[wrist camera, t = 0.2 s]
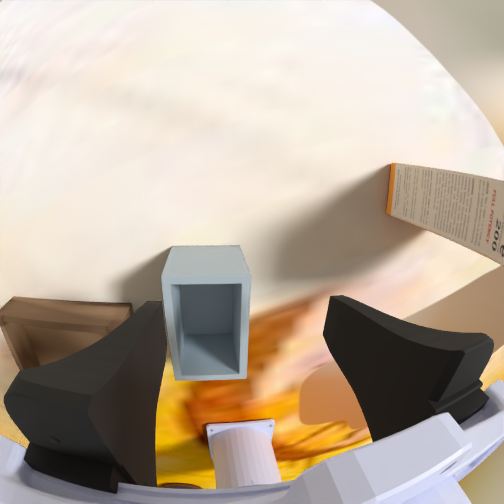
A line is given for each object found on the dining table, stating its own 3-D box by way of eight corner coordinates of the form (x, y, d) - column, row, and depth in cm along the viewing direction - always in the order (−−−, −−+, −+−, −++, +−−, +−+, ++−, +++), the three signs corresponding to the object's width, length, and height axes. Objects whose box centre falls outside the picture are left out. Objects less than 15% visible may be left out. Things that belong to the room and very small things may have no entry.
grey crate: (237, 334, 23) (246, 378, 18) (179, 335, 22) (175, 380, 17) (239, 245, 20) (251, 274, 15) (172, 246, 20) (160, 276, 14)
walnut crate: (154, 402, 24) (151, 429, 21) (51, 388, 22) (41, 410, 19) (131, 303, 20) (119, 329, 17) (13, 296, 18) (-6, 315, 15)
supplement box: (383, 216, 22) (506, 272, 9) (389, 161, 20) (523, 183, 8) (441, 221, 23) (542, 266, 11) (447, 175, 21) (554, 203, 9)
